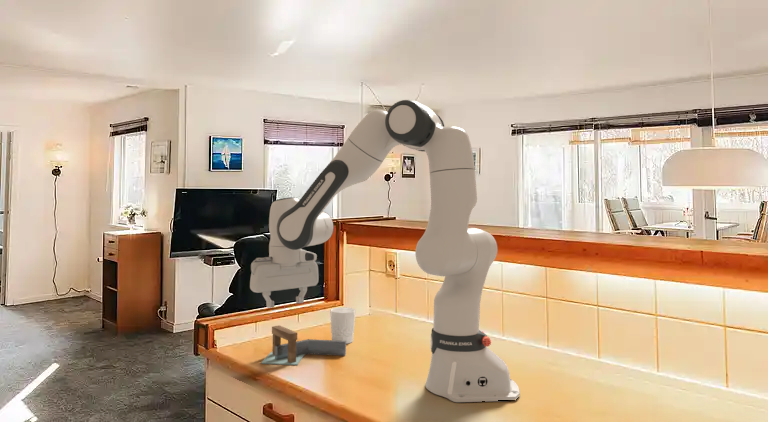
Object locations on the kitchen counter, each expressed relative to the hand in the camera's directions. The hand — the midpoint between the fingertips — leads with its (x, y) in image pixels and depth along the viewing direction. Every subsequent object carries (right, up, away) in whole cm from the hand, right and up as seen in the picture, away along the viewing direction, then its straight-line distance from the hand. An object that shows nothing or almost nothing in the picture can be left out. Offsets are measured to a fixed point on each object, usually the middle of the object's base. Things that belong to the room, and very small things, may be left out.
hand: (285, 305), depth 147 cm
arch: (-1, -15, +1) cm, 15 cm away
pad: (-1, -15, +1) cm, 15 cm away
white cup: (+14, -15, +20) cm, 29 cm away
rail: (+7, -15, +3) cm, 17 cm away
